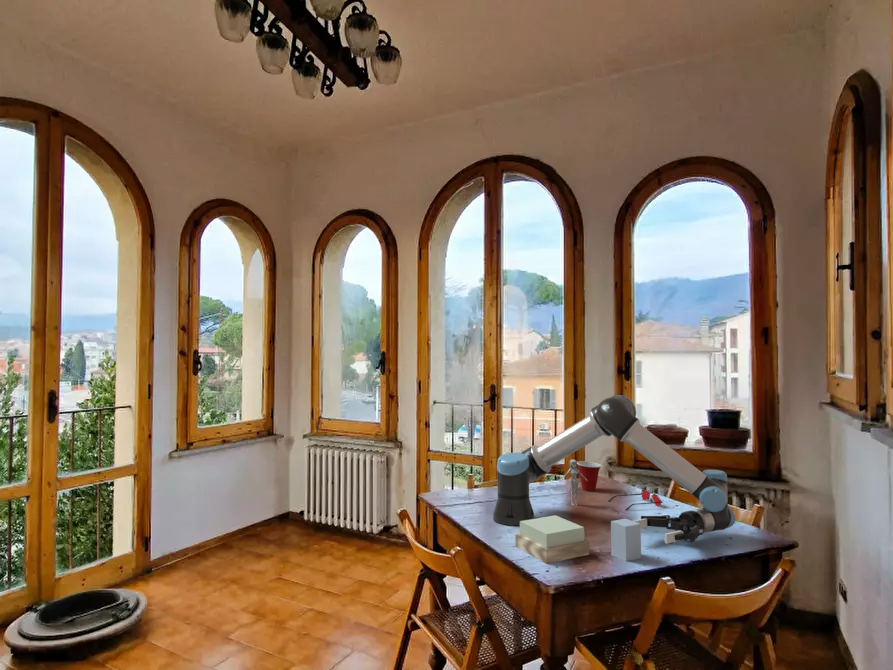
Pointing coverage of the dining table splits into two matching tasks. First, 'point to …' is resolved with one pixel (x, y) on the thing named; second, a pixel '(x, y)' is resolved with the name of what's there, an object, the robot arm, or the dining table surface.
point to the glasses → (645, 496)
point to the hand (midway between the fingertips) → (647, 531)
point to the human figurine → (573, 480)
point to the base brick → (552, 549)
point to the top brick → (551, 531)
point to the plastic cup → (588, 474)
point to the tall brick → (626, 539)
